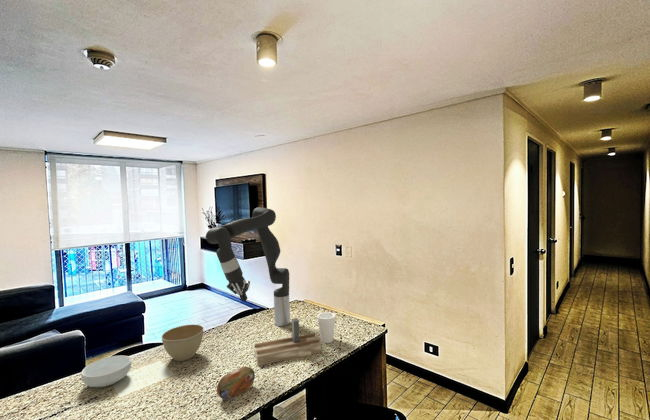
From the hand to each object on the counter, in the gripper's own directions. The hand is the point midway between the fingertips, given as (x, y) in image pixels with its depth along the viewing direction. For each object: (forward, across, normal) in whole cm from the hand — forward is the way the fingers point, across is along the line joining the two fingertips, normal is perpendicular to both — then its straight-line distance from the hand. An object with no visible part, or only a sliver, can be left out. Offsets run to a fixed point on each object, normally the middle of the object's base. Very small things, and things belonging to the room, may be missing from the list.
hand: (244, 300), depth 143 cm
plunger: (+28, -15, -5) cm, 32 cm away
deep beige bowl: (+18, +33, +18) cm, 41 cm away
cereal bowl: (+8, +46, +42) cm, 63 cm away
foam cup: (+39, -24, -18) cm, 49 cm away
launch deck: (+31, -12, -1) cm, 33 cm away
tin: (+20, -10, +32) cm, 39 cm away
